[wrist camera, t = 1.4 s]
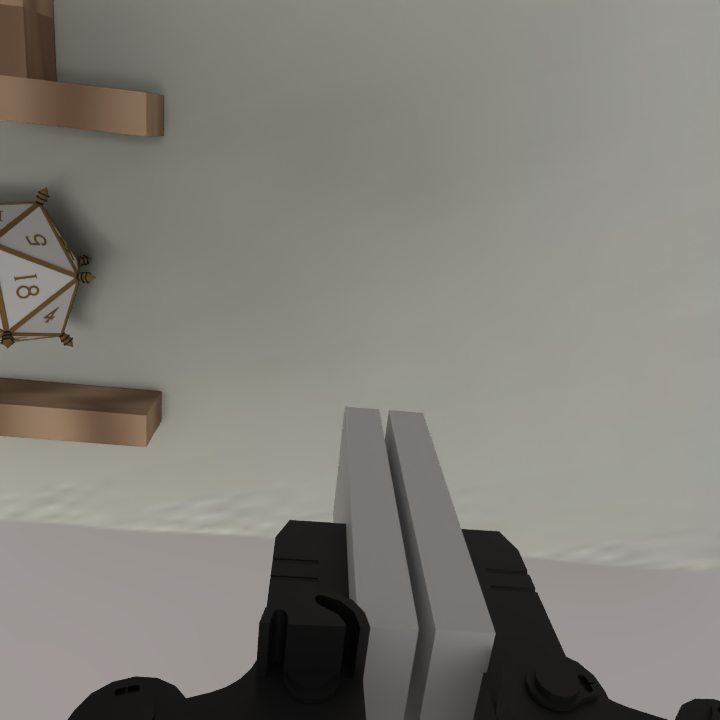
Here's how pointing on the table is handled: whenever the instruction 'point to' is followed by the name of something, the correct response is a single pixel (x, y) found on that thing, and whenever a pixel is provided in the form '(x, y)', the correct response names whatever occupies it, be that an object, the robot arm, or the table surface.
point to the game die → (35, 274)
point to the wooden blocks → (80, 111)
